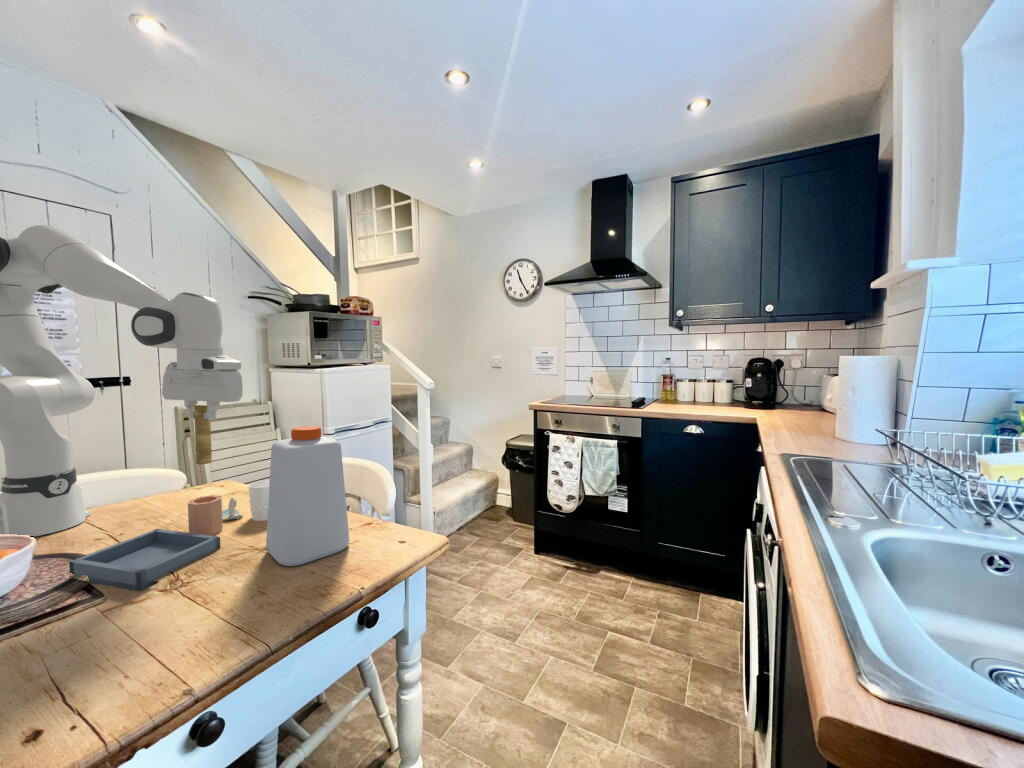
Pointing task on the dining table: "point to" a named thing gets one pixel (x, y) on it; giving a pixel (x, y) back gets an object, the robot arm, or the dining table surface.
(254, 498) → the white cup
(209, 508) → the terracotta cup
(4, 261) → the robot arm
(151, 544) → the navy tray
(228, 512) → the pacifier
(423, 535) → the dining table surface
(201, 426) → the dowel pin
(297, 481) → the plastic bottle
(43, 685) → the dining table surface
